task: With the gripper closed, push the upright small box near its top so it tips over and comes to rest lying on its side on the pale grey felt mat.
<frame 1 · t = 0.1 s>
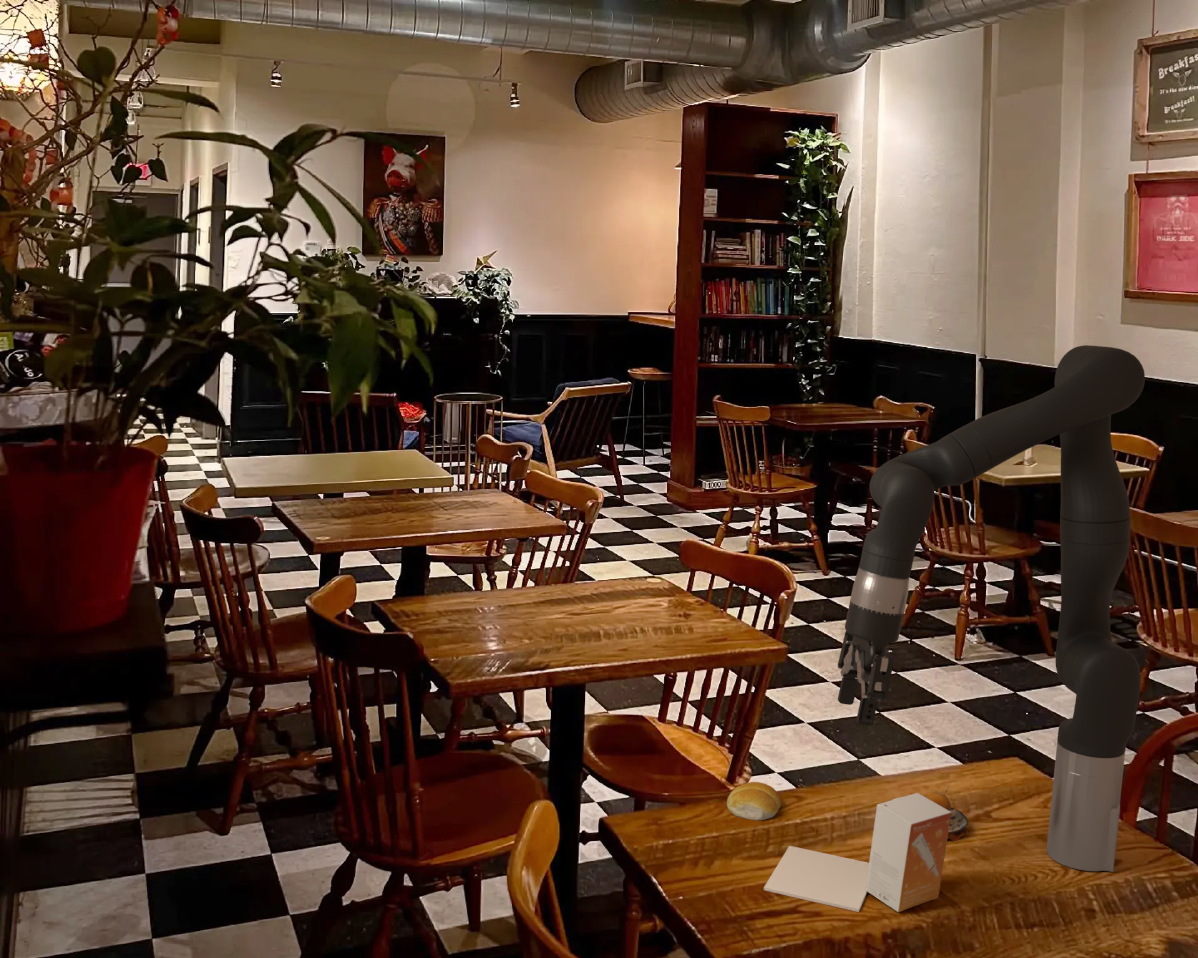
hand: (854, 713, 169), 22 cm above the table, tool pointing down, fingers open, 8 cm apart
small box: (901, 895, 163), on the table, touching mat
bread roll: (754, 811, 189), on the table
burger: (927, 827, 186), on the table
mat: (822, 878, 167), on the table
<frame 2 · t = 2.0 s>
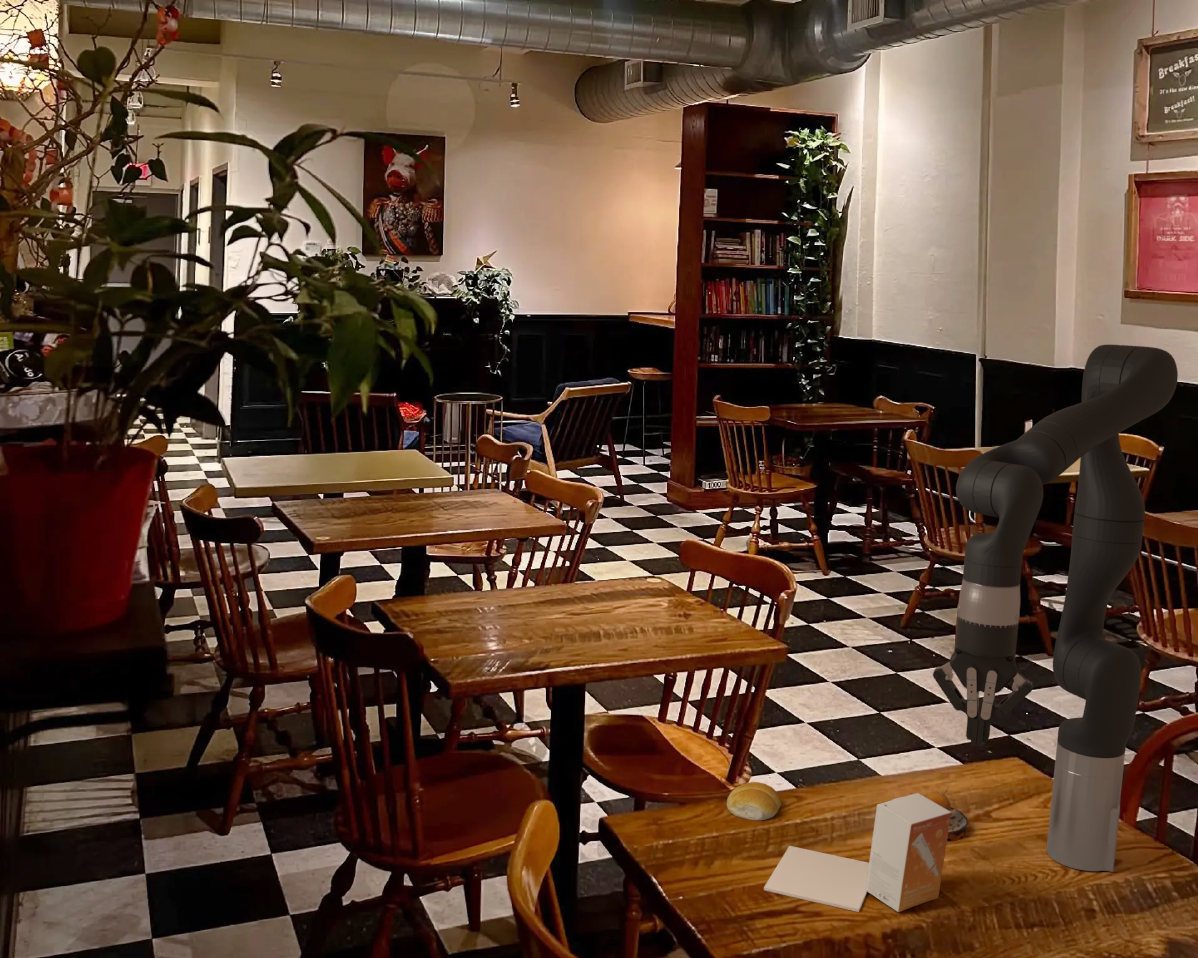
hand: (976, 743, 156), 23 cm above the table, tool pointing down, fingers closed
nothing on the table moved.
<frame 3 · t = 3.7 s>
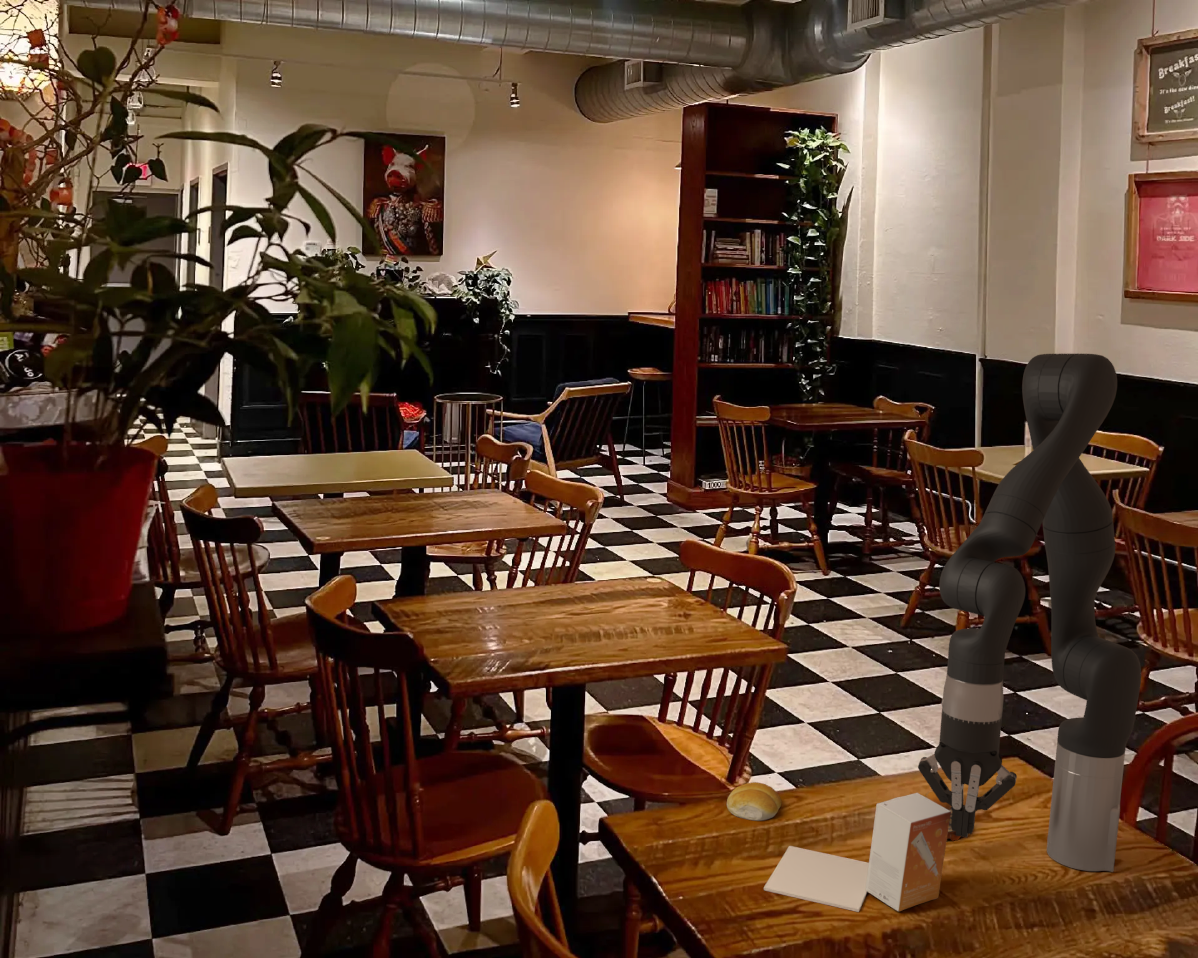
hand: (961, 834, 159), 11 cm above the table, tool pointing down, fingers closed
small box: (901, 895, 163), on the table, touching gripper, mat
everything else where it was.
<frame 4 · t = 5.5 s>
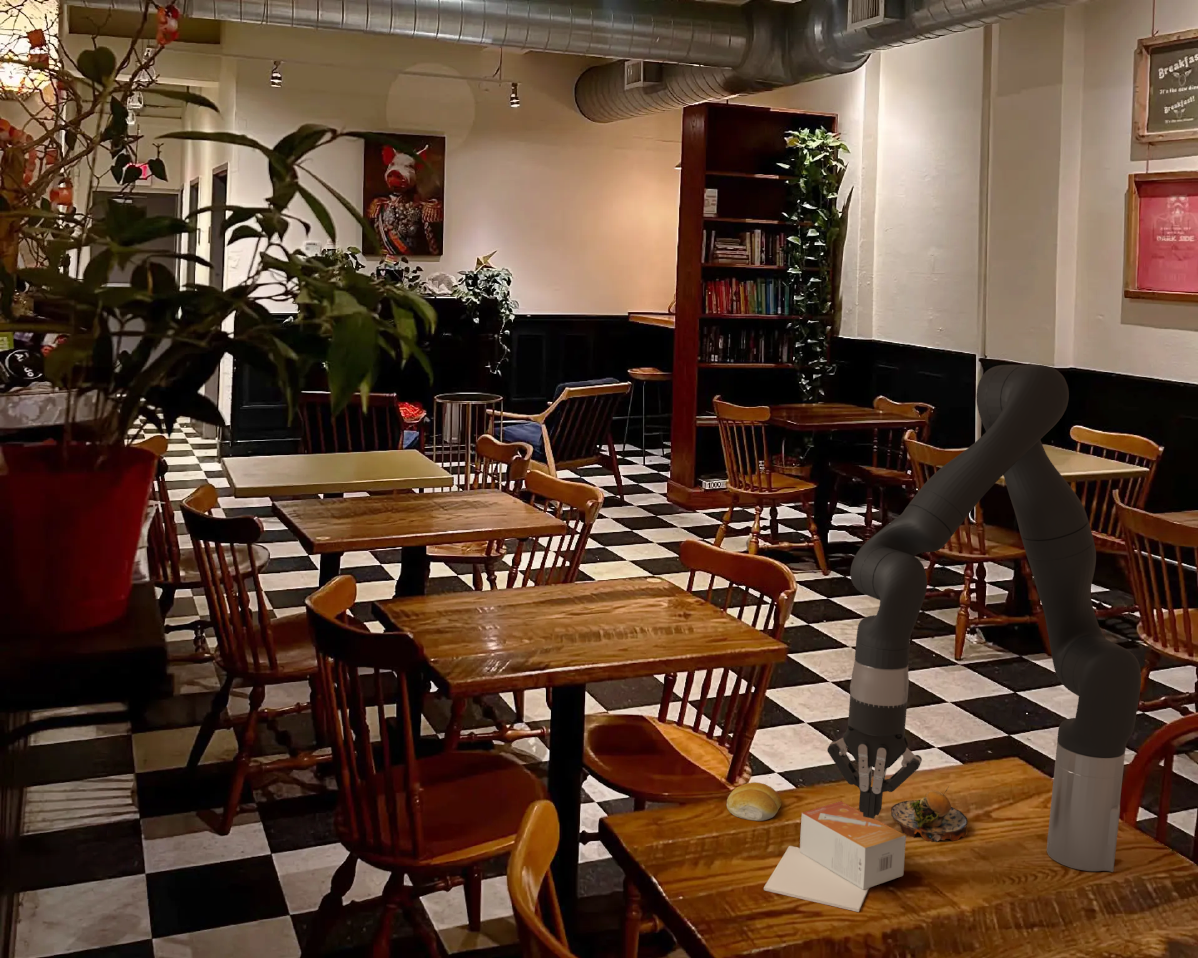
hand: (869, 815, 163), 11 cm above the table, tool pointing down, fingers closed
small box: (886, 862, 165), point 4 cm above the table, touching mat
everything else where it was.
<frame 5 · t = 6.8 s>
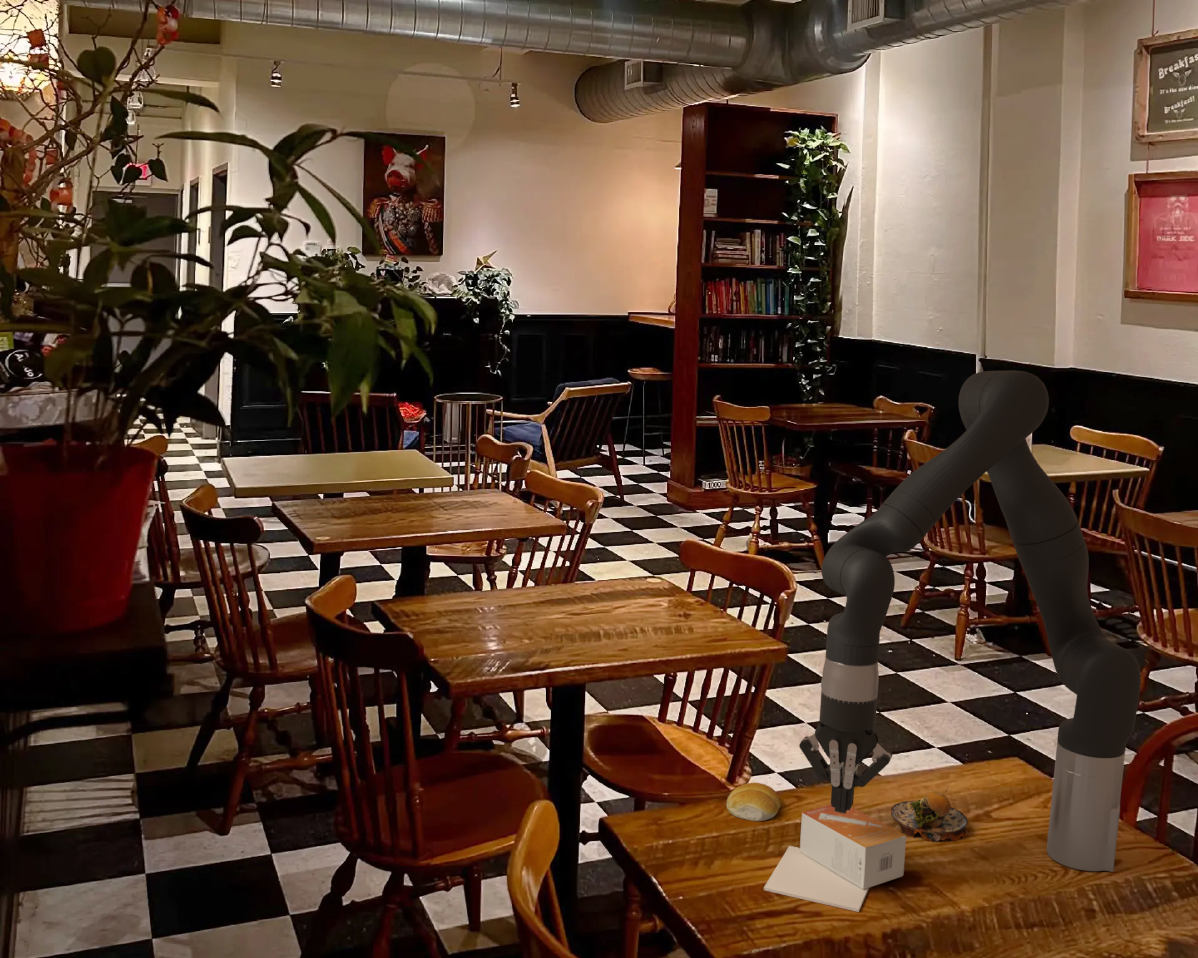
hand: (841, 810, 165), 11 cm above the table, tool pointing down, fingers closed
nothing on the table moved.
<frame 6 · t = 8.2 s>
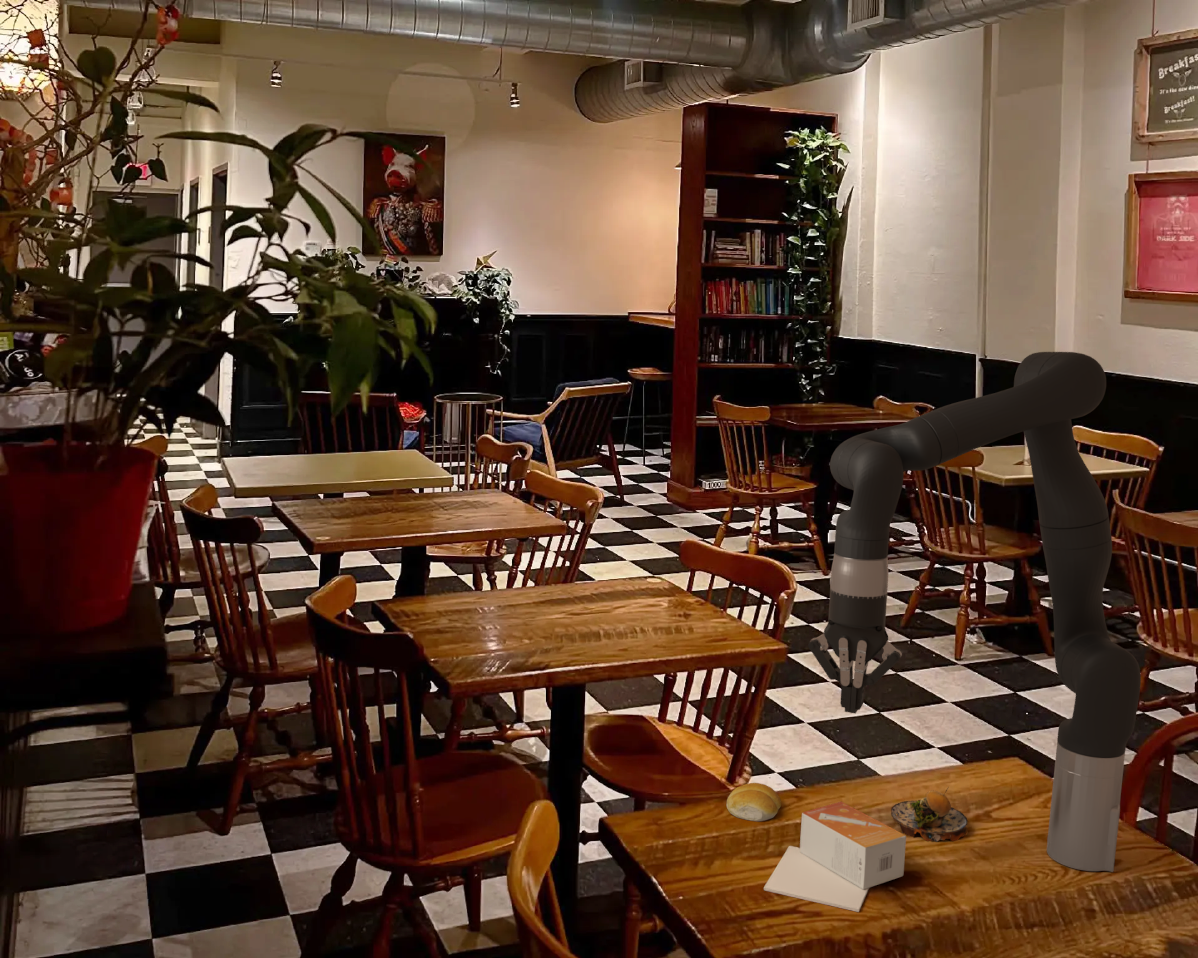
hand: (851, 710, 163), 25 cm above the table, tool pointing down, fingers closed
nothing on the table moved.
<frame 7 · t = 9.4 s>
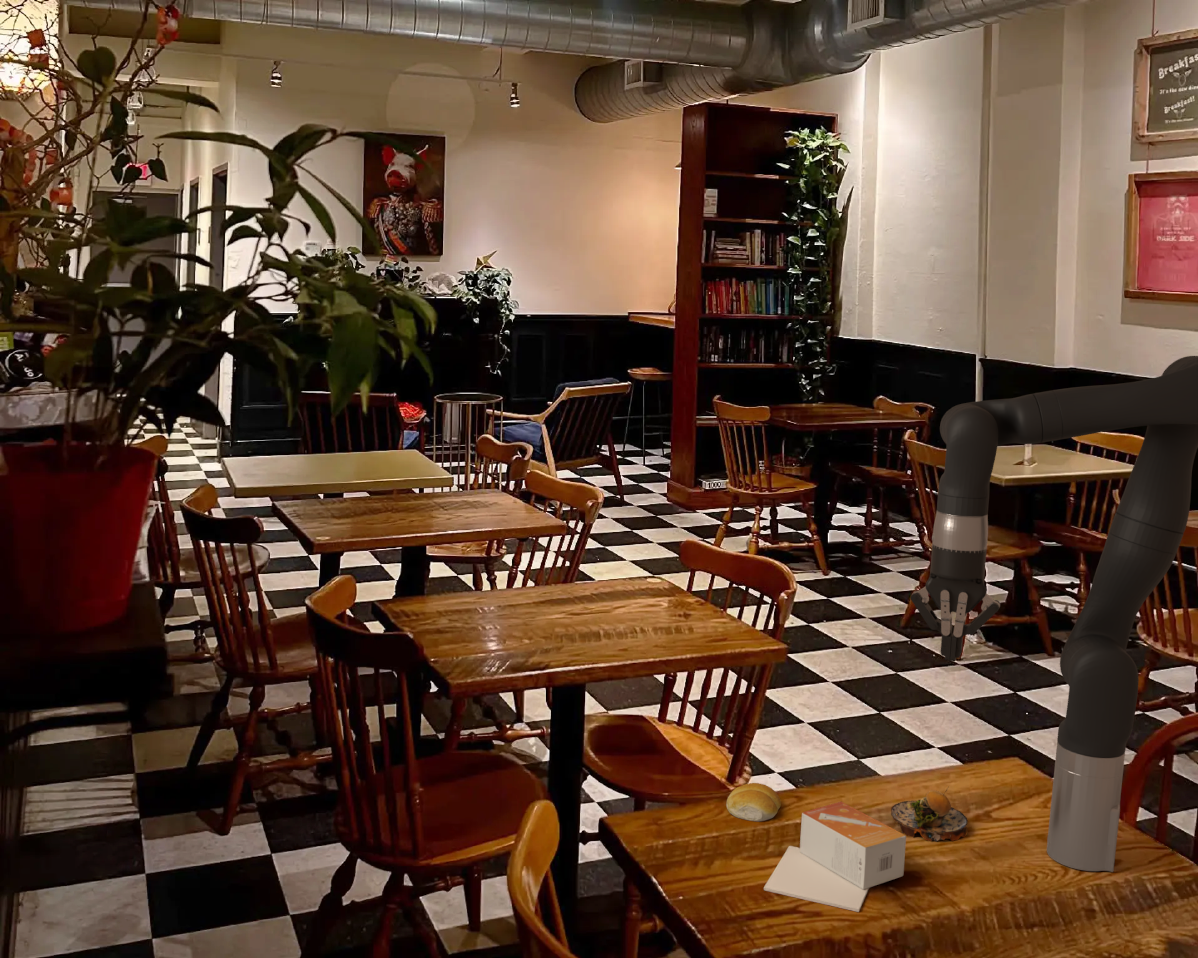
hand: (950, 659, 174), 29 cm above the table, tool pointing down, fingers closed
nothing on the table moved.
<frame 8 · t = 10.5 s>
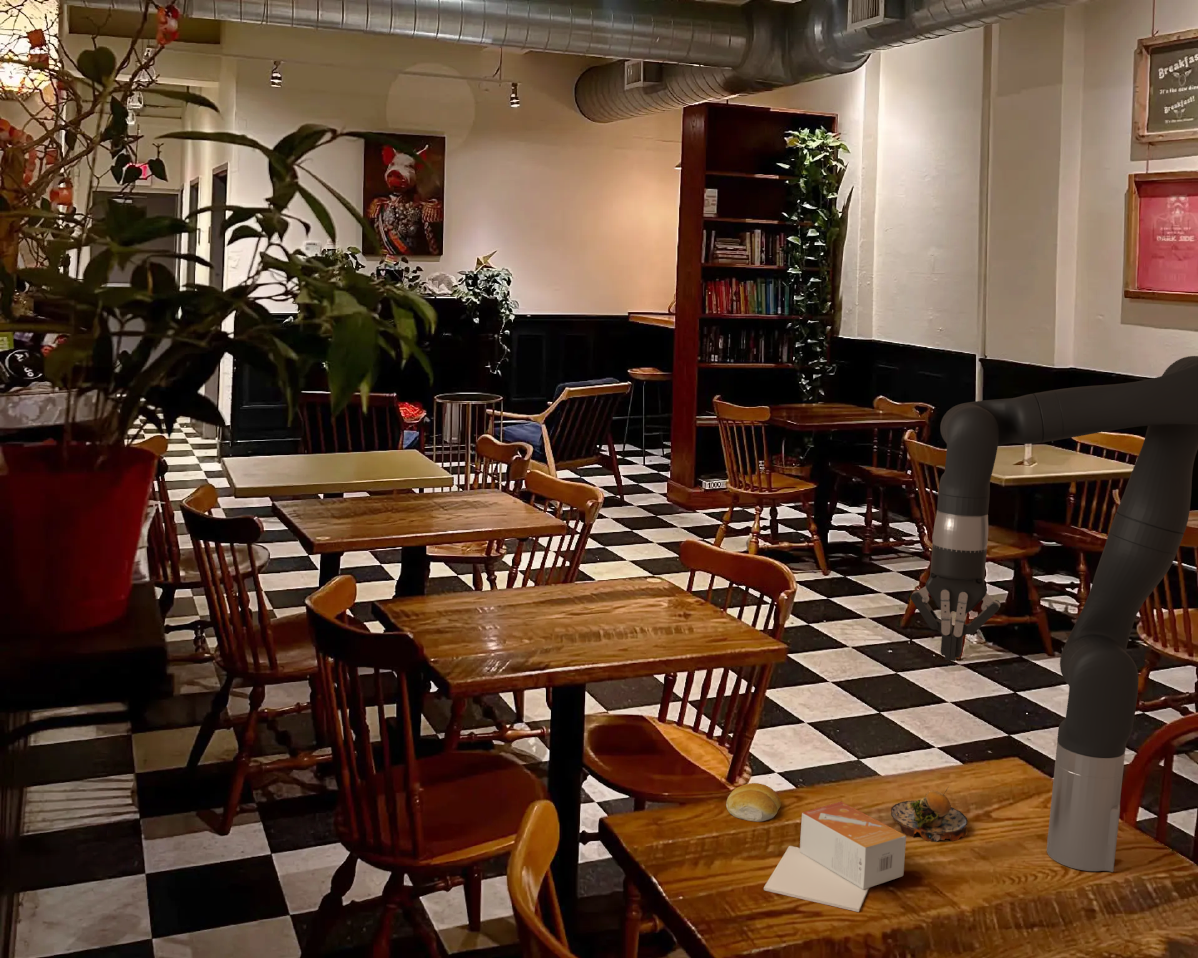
hand: (950, 658, 174), 29 cm above the table, tool pointing down, fingers closed
nothing on the table moved.
at the end: small box tilted 90°; small box inside the target area (2.4 cm from its centre), point 3.6 cm above the table; small box touching mat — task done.
